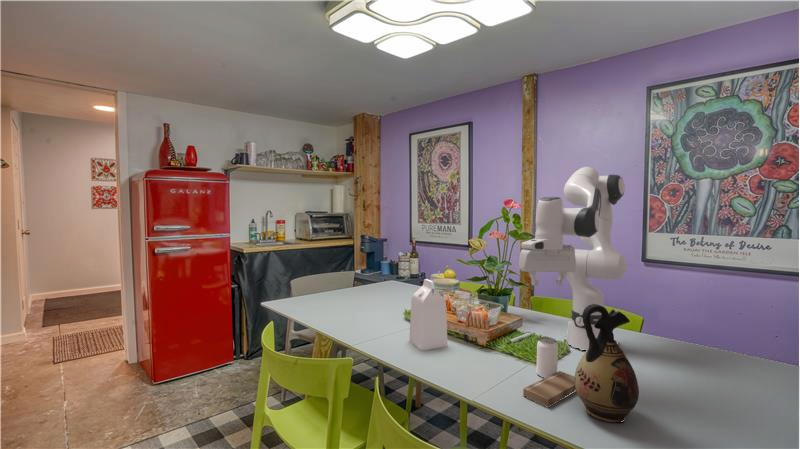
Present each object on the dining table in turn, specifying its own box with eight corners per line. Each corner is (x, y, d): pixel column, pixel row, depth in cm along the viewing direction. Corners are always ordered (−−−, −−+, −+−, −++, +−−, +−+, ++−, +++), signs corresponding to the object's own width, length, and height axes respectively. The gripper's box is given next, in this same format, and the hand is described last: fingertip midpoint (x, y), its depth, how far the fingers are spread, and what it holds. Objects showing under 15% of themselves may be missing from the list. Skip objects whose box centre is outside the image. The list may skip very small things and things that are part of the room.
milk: (447, 346, 152) (448, 282, 150) (421, 350, 147) (422, 284, 146) (433, 336, 163) (434, 276, 161) (409, 340, 159) (409, 278, 157)
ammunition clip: (463, 341, 158) (464, 313, 157) (465, 340, 159) (466, 312, 158) (488, 347, 151) (489, 317, 151) (490, 345, 153) (490, 316, 152)
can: (551, 370, 130) (553, 336, 130) (560, 379, 124) (561, 343, 123) (533, 370, 130) (534, 336, 129) (541, 379, 124) (542, 343, 123)
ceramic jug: (614, 398, 112) (619, 298, 110) (651, 429, 97) (656, 313, 95) (558, 398, 111) (561, 298, 110) (585, 430, 96) (589, 313, 94)
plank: (559, 378, 125) (559, 370, 125) (583, 387, 118) (584, 379, 118) (523, 396, 113) (523, 388, 113) (547, 408, 106) (548, 399, 106)
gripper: (568, 244, 134) (567, 283, 134) (517, 243, 129) (515, 283, 129) (581, 245, 128) (579, 286, 128) (527, 243, 123) (526, 286, 123)
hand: (547, 285), depth 128 cm, fingers open, 8 cm apart
